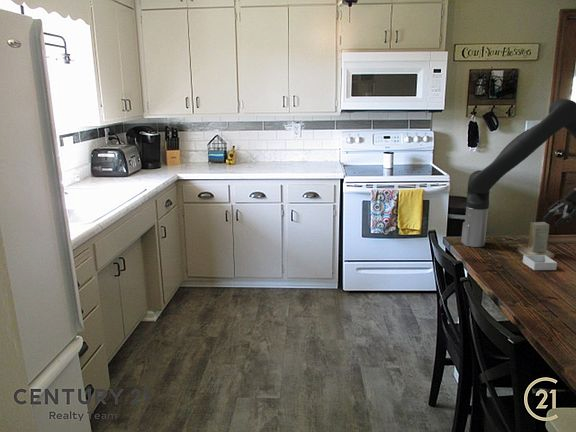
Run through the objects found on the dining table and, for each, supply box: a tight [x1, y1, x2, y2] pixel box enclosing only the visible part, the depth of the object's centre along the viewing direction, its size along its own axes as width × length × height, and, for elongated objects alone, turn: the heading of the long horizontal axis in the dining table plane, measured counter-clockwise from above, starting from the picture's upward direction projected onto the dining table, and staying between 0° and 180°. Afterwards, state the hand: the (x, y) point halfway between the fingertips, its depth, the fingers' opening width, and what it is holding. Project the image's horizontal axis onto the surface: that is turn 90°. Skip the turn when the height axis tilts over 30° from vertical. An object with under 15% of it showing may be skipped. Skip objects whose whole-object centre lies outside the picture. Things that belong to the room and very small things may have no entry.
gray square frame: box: [522, 254, 558, 271], centre depth 193 cm, size 9×9×3 cm
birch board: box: [517, 246, 555, 259], centre depth 207 cm, size 11×9×2 cm
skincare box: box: [527, 221, 550, 252], centre depth 205 cm, size 6×4×12 cm
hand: (550, 222), depth 204 cm, fingers open, 8 cm apart
